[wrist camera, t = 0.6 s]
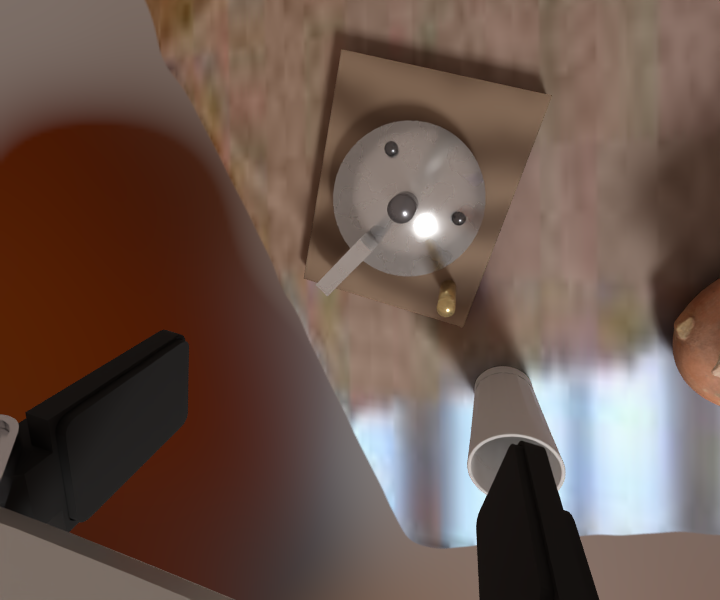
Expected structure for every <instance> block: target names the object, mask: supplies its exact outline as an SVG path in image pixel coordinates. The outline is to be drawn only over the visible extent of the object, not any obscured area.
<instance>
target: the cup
mask: <svg viewBox="0 0 720 600" xmlns="http://www.w3.org/2000/svg"><path fill="white" fill-rule="evenodd" d="M474 391H475V396H474V407H473V417H472V427H471V437H470V445H469V454H468V462H467V468H468V473H469V476H470V478H471V480H472V481H473V483H474V484H475V485H476V486H477V487H478V488H479V489H480V490H481V491H482V492H483V493H485V494H486V495H487V494H488V492H489V490H490V487H491V485H492V483H493V481H494V479H495V477H496V474H497V472H498V470H499V468H500V466H501V463H502V461H503V459H504V457H505V455H506V452H507V450H508V448H509V446H510V445H511V444H516V445H517V444H518V443H519V442H520V441H525V442H528V443H532V444H535V445H538V446H541V447H544V448H545V450H546V452H547V455H548V459H549V462H550V466H551V469H552V473H553V476H554V479H555V483H556V486H557V490H559V489H560V488H561V486H562V485H563V482H564V479H565V466H564V463H563V460H562V458H561V456H560V453H559V451H558V449H557V446H556V444H555V442H554V439H553V437H552V435H551V432H550V430H549V427H548V425H547V422H546V420H545V418H544V415H543V413H542V410H541V408H540V405H539V403H538V400H537V398H536V395H535V393H534V390H533V386H532V383H531V381H530V379H529V378H528V377H527V376H526V375H525V374H524V373H523V372H521V371H520V370H518V369H515V368H512V367H507V366H498V367H493V368H490V369H488V370H486V371H484V372H483V373H482V374H481V375H480V376H479V377H478V378H477V380H476V382H475V387H474Z"/></svg>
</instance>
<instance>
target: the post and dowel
mask: <svg viewBox="0 0 720 600" xmlns="http://www.w3.org/2000/svg"><path fill="white" fill-rule="evenodd" d="M417 209H418V200H417V198H416V196H415V195H414V194H413V193H411V192H408V191H403V192H400V193H398V194H397V195H396V196H394V197H393V198H392V199H391V200H390V201H389V203H388V206H387V213H388V216H389V217H390V219H391V220H392V221H394V222H395V223H399V224H403V223H407V222H408V221H410V220H411V219H412V218H413V216H414V215H415V213H416V212H417ZM456 288H457V287H456V284H455V282H453V281H452V280H445V281H443V282H442V284H441V286H440V292H439V298H438V304H437V312H438V314H439V315H441V316H443V317H450V316H452V315H453V314H454V312H455V304H456Z"/></svg>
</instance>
